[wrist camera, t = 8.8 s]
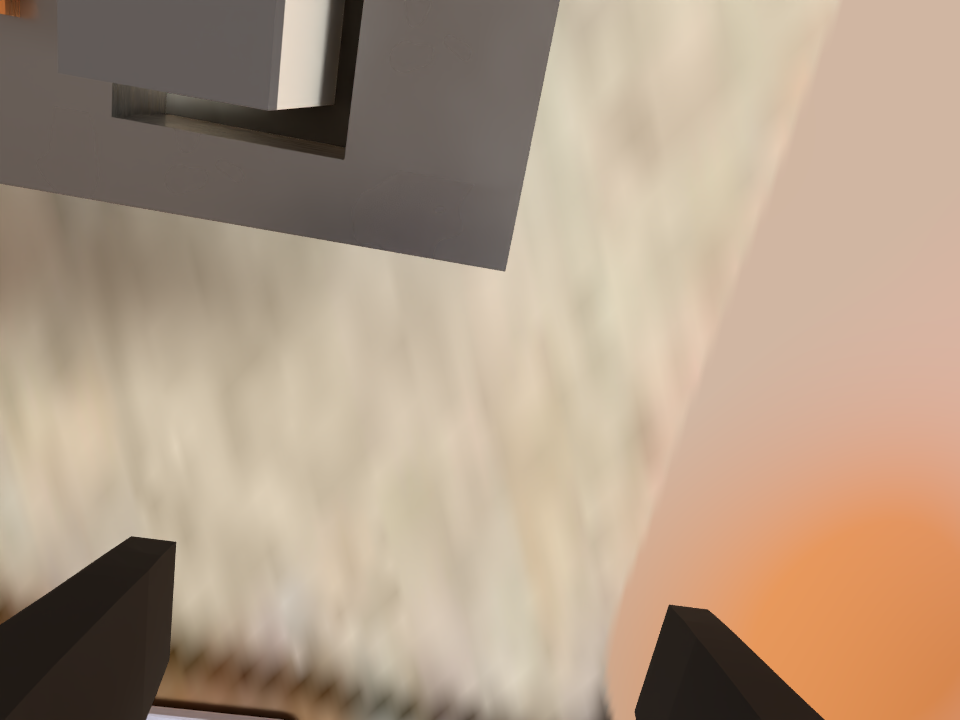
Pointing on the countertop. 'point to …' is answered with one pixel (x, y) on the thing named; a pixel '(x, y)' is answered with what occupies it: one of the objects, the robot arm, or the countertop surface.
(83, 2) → the grey plug
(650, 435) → the countertop surface
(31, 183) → the graphite socket block
